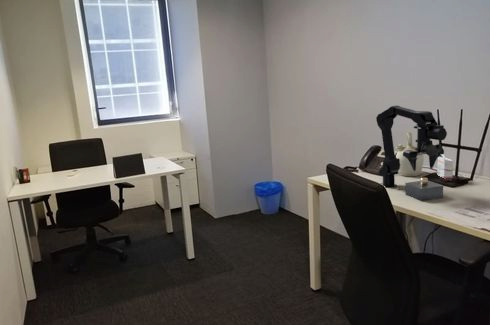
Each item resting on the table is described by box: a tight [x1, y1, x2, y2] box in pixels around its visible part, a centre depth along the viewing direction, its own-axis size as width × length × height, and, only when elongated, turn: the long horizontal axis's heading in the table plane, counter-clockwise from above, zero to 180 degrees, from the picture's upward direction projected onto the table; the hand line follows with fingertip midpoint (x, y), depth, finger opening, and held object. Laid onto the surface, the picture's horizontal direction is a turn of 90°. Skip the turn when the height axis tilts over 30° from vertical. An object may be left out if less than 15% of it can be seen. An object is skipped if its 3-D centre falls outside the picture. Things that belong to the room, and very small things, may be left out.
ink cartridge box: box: [436, 154, 454, 179], centre depth 214 cm, size 9×5×15 cm, turn 178°
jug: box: [395, 132, 425, 177], centre depth 231 cm, size 15×16×25 cm
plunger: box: [419, 177, 429, 185], centre depth 190 cm, size 9×9×8 cm
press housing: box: [404, 180, 444, 202], centre depth 190 cm, size 12×12×6 cm
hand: (422, 169), depth 191 cm, fingers open, 9 cm apart
